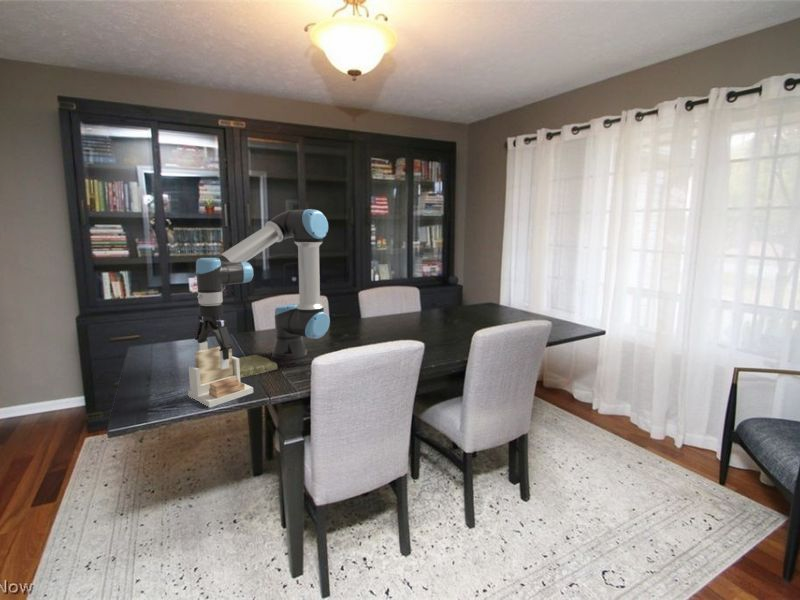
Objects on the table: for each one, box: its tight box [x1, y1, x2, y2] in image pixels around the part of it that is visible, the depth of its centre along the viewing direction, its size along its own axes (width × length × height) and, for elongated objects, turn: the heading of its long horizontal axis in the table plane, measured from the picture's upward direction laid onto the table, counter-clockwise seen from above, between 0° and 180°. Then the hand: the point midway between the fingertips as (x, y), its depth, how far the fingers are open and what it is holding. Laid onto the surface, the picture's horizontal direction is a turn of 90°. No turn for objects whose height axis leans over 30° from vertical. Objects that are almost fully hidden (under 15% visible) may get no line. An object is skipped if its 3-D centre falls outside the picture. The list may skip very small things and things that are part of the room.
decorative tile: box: [238, 354, 278, 379], centre depth 171 cm, size 19×20×4 cm
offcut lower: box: [209, 381, 245, 398], centre depth 142 cm, size 10×5×2 cm, turn 142°
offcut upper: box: [210, 377, 239, 392], centre depth 141 cm, size 8×4×2 cm, turn 142°
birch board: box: [194, 345, 233, 385], centre depth 146 cm, size 12×2×14 cm, turn 142°
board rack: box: [187, 355, 254, 408], centre depth 144 cm, size 16×14×11 cm
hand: (214, 364), depth 145 cm, fingers open, 13 cm apart
